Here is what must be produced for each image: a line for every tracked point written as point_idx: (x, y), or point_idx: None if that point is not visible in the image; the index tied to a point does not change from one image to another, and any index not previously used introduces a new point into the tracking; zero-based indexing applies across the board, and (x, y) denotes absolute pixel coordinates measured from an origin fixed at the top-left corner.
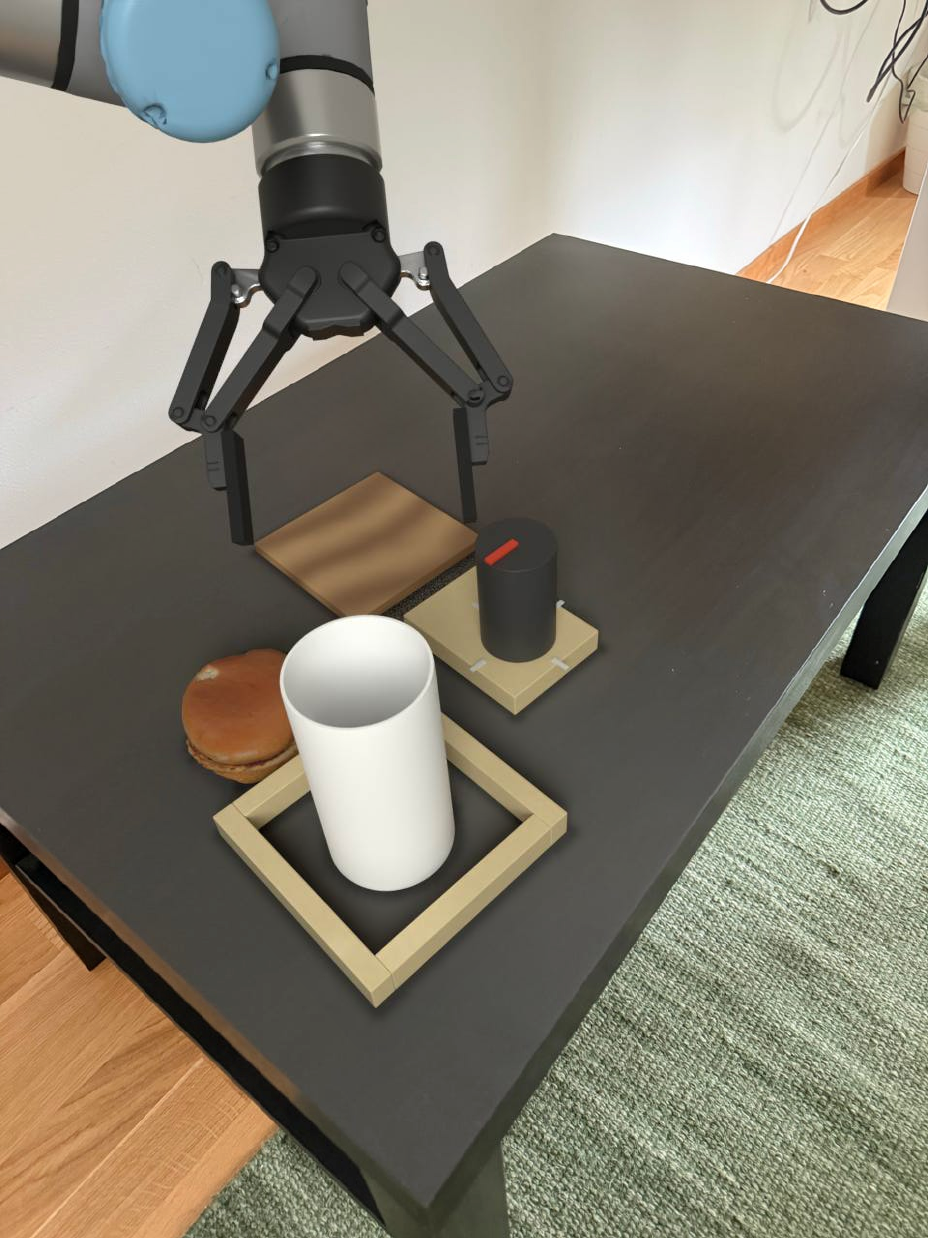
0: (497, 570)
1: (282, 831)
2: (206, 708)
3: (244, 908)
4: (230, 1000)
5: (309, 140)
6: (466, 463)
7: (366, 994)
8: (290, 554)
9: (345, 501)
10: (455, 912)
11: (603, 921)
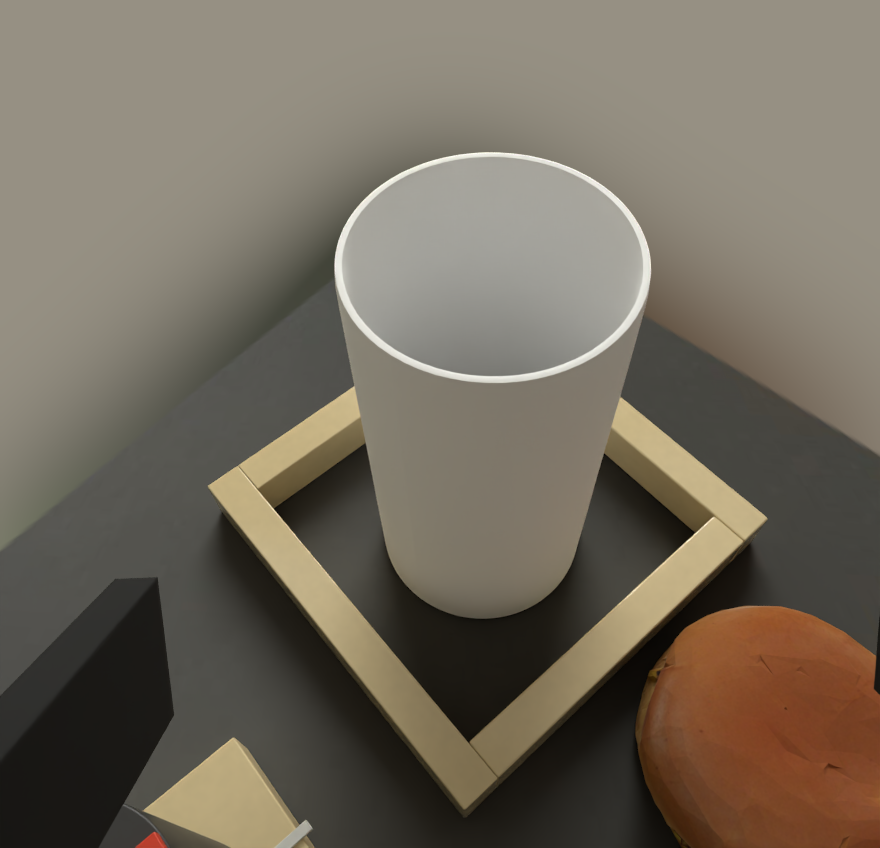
0: (145, 816)
1: (653, 542)
2: (866, 690)
3: (678, 434)
4: (663, 336)
5: None
6: (44, 673)
7: None
8: None
9: None
10: None
11: (212, 393)
